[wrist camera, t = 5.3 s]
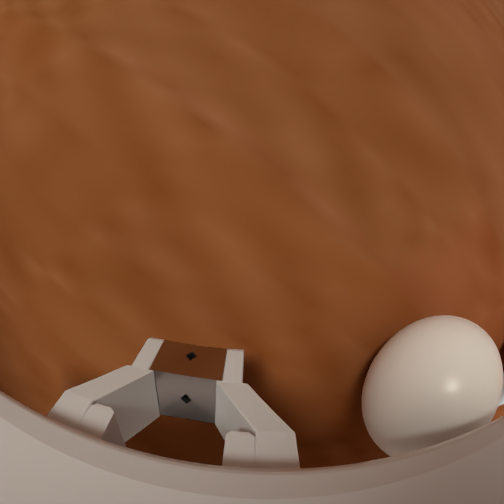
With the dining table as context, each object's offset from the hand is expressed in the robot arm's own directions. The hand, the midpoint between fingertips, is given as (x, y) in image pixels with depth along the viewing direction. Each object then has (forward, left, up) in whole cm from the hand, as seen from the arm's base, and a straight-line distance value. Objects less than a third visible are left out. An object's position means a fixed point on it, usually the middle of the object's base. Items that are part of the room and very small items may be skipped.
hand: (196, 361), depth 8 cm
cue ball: (+8, 0, +1) cm, 8 cm away
